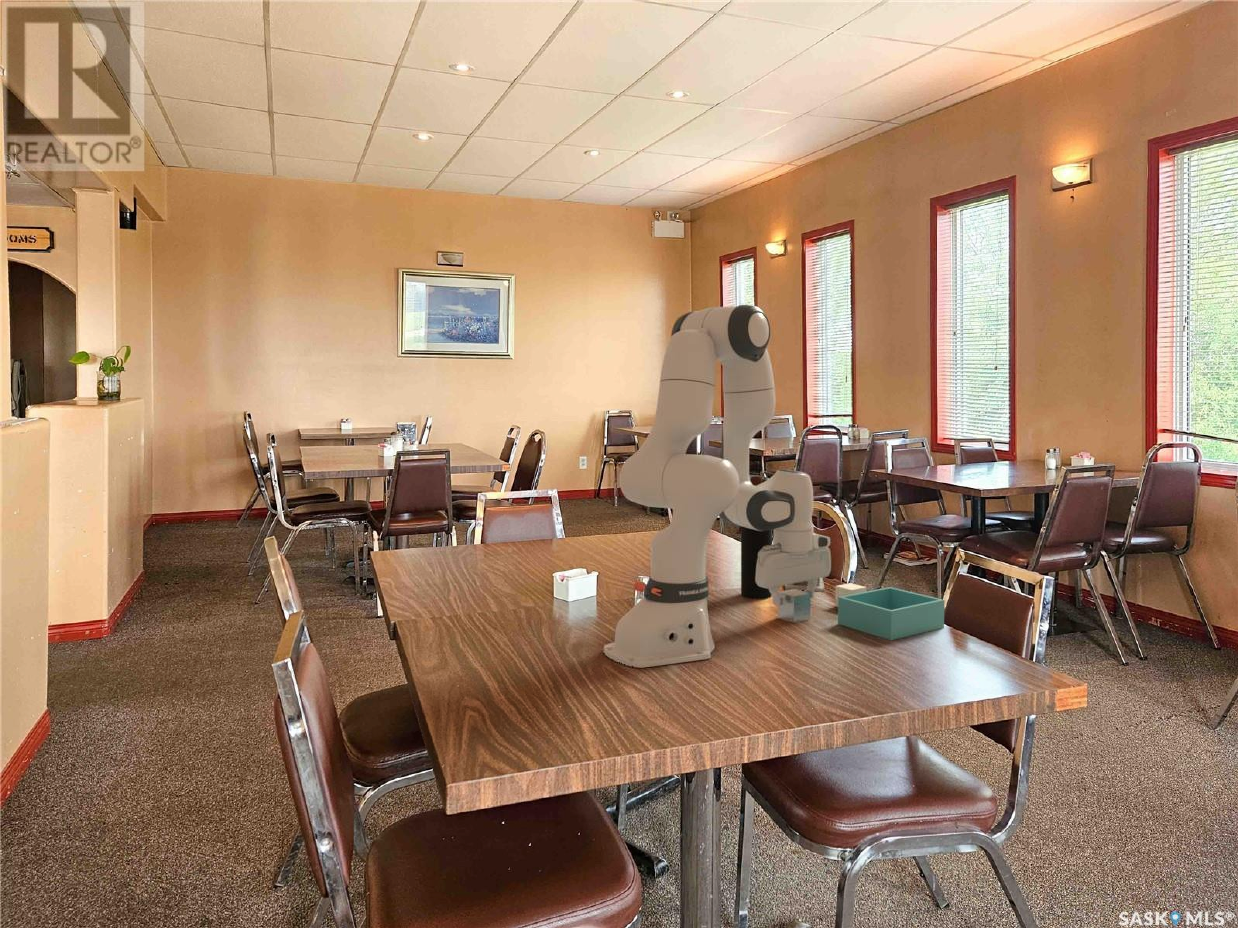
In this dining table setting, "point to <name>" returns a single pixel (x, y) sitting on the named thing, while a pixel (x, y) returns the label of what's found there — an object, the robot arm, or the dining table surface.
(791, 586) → the packaged product
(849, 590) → the cream box
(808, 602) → the steel block
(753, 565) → the wine bottle
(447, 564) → the dining table surface
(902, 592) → the box
